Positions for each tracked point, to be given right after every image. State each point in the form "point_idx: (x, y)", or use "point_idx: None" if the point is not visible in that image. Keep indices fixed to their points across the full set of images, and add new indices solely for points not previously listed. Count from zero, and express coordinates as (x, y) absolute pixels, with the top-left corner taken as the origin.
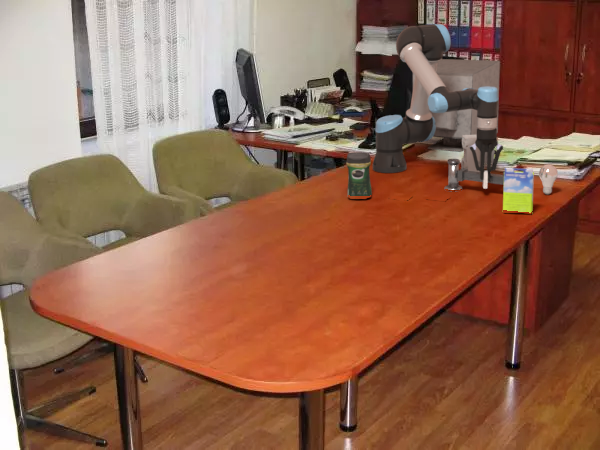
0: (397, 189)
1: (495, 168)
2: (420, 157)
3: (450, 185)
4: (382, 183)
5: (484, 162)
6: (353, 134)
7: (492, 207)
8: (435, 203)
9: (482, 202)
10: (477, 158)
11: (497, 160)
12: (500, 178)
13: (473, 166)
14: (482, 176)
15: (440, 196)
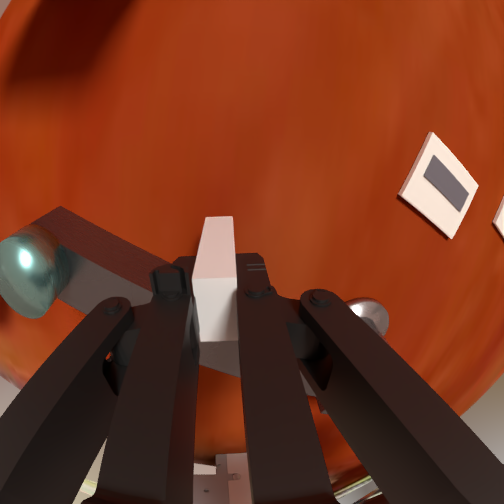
0: (486, 305)
1: (96, 309)
2: (333, 479)
3: (377, 327)
4: (482, 347)
5: (213, 477)
6: (374, 492)
7: (203, 9)
8: (457, 126)
9: (248, 93)
10: (234, 487)
11: (34, 381)
12: (91, 251)
13: (244, 467)
14: (248, 267)
15: (427, 226)
